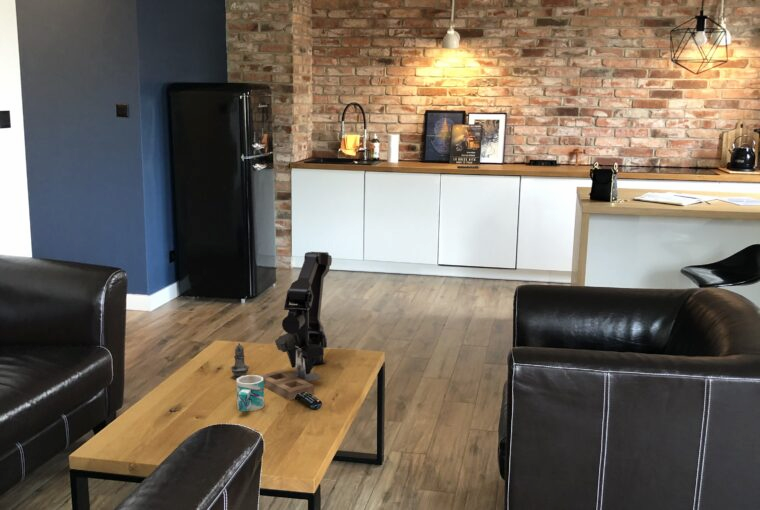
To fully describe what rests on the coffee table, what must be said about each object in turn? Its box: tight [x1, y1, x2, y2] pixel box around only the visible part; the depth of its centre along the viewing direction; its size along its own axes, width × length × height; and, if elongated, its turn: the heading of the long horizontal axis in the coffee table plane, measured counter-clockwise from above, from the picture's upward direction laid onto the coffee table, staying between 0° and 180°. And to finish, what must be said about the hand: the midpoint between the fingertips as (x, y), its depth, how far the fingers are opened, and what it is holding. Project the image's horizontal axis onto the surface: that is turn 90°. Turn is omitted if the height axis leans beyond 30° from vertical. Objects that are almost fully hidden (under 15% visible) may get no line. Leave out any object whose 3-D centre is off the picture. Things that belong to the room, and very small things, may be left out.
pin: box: [295, 348, 305, 379], centre depth 264 cm, size 3×3×10 cm
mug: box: [236, 374, 265, 412], centre depth 240 cm, size 8×12×8 cm
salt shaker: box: [230, 342, 250, 381], centre depth 264 cm, size 6×6×12 cm
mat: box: [290, 371, 323, 383], centre depth 267 cm, size 10×10×1 cm
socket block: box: [258, 369, 315, 401], centre depth 255 cm, size 18×9×3 cm, turn 40°
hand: (300, 370), depth 265 cm, fingers open, 8 cm apart
